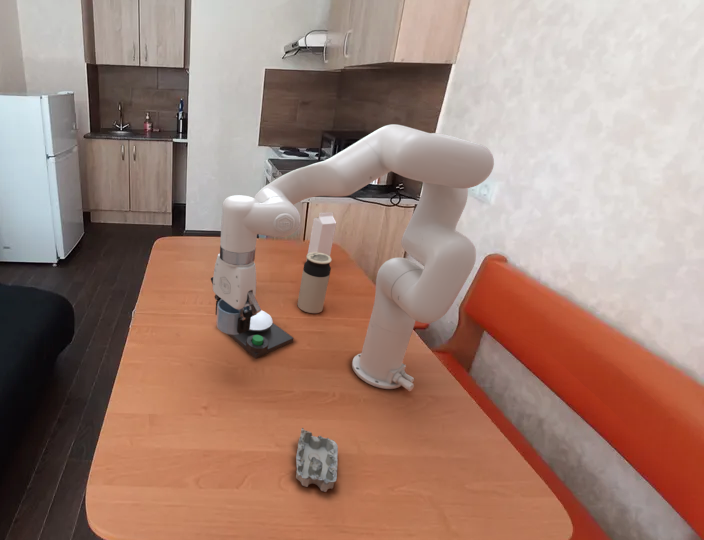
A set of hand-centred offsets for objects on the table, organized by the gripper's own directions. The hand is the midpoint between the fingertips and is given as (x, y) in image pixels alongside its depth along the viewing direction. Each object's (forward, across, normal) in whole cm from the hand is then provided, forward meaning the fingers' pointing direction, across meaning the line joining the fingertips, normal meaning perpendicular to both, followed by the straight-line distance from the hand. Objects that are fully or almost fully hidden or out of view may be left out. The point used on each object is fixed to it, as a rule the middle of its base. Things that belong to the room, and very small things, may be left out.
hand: (232, 321), depth 96 cm
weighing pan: (+14, -12, +19) cm, 27 cm away
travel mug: (+18, -12, +43) cm, 48 cm away
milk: (+18, -31, +68) cm, 77 cm away
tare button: (+14, -4, +13) cm, 20 cm away
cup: (+1, 0, 0) cm, 1 cm away
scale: (+17, -10, +18) cm, 27 cm away
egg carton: (+17, +28, 0) cm, 33 cm away
